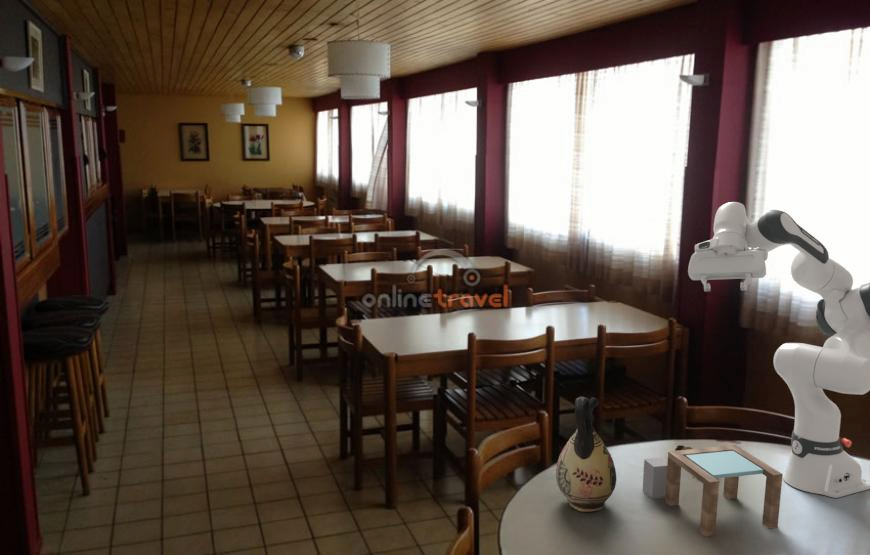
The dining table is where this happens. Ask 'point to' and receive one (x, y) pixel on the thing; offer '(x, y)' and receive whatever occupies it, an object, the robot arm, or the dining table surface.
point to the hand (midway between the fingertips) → (724, 289)
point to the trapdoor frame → (712, 486)
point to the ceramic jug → (586, 463)
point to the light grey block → (655, 477)
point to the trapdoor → (725, 464)
